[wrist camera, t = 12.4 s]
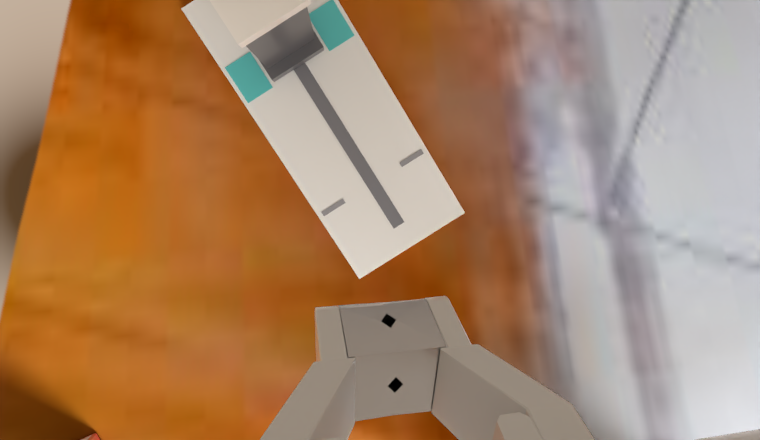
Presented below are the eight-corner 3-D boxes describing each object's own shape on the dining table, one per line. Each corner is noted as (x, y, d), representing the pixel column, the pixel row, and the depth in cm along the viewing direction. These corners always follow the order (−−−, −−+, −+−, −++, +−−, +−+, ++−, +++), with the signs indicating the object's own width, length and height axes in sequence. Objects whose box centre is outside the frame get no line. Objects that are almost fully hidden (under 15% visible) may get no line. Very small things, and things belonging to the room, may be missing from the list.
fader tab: (324, 50, 36) (316, 8, 25) (274, 82, 36) (244, 54, 25) (294, 0, 35) (272, -64, 24) (243, 33, 35) (199, -16, 24)
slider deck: (460, 210, 40) (465, 212, 39) (358, 274, 40) (359, 279, 39) (299, -59, 36) (298, -68, 35) (187, 14, 36) (180, 8, 35)
